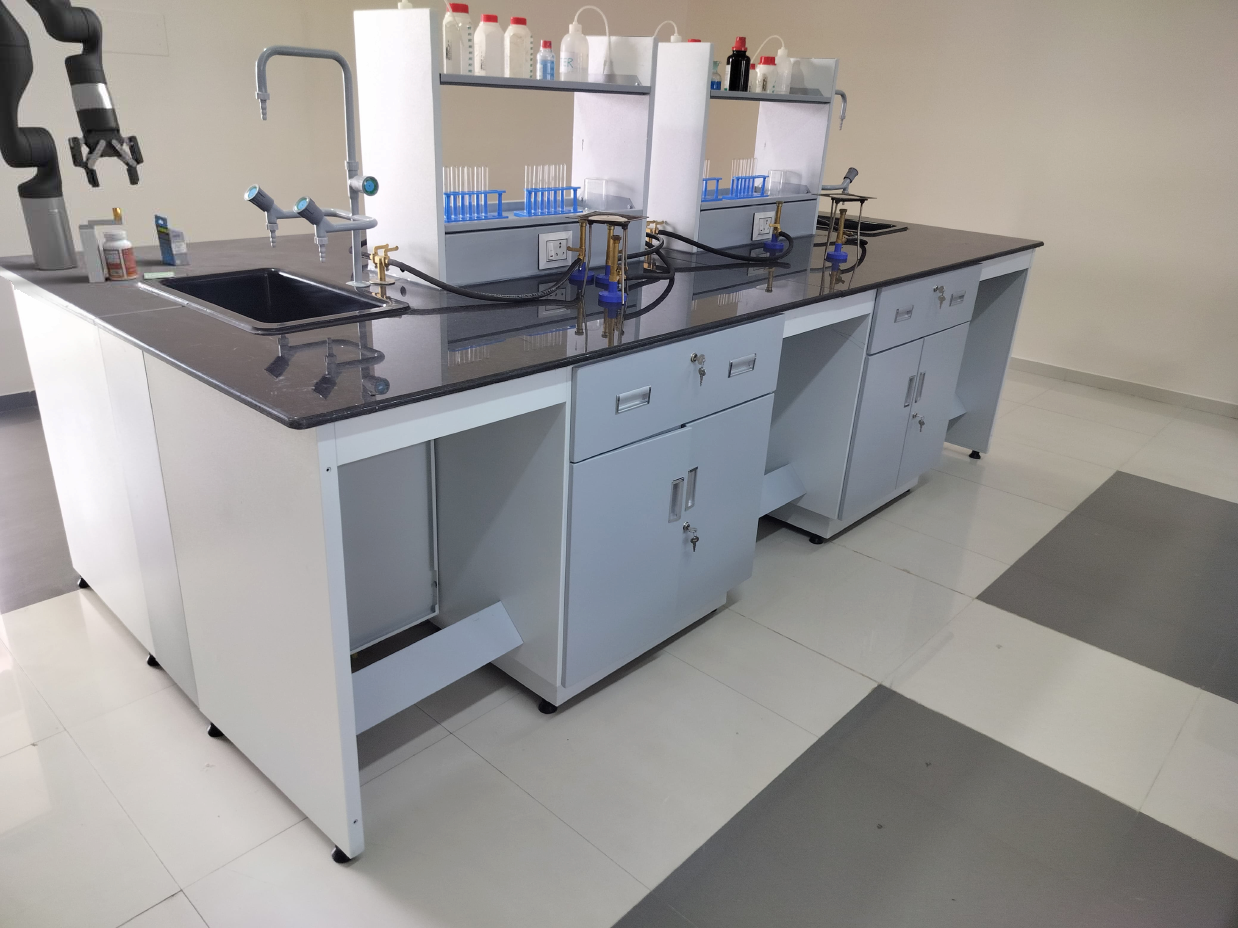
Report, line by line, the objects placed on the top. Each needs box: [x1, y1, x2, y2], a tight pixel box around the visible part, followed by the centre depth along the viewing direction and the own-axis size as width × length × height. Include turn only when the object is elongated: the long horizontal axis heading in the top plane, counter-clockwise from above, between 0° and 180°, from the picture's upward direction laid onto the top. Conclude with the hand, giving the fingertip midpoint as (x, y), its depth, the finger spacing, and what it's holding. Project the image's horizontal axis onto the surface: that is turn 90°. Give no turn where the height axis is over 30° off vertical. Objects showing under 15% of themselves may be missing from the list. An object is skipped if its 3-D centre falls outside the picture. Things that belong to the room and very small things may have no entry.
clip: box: [87, 207, 123, 227], centre depth 202 cm, size 2×7×4 cm, turn 118°
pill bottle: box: [101, 229, 138, 282], centre depth 206 cm, size 6×6×11 cm
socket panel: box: [78, 223, 106, 284], centre depth 205 cm, size 9×3×13 cm, turn 27°
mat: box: [143, 271, 175, 280], centre depth 212 cm, size 6×6×1 cm
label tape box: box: [154, 214, 190, 267], centre depth 226 cm, size 9×4×12 cm, turn 46°
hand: (115, 186), depth 192 cm, fingers open, 8 cm apart
